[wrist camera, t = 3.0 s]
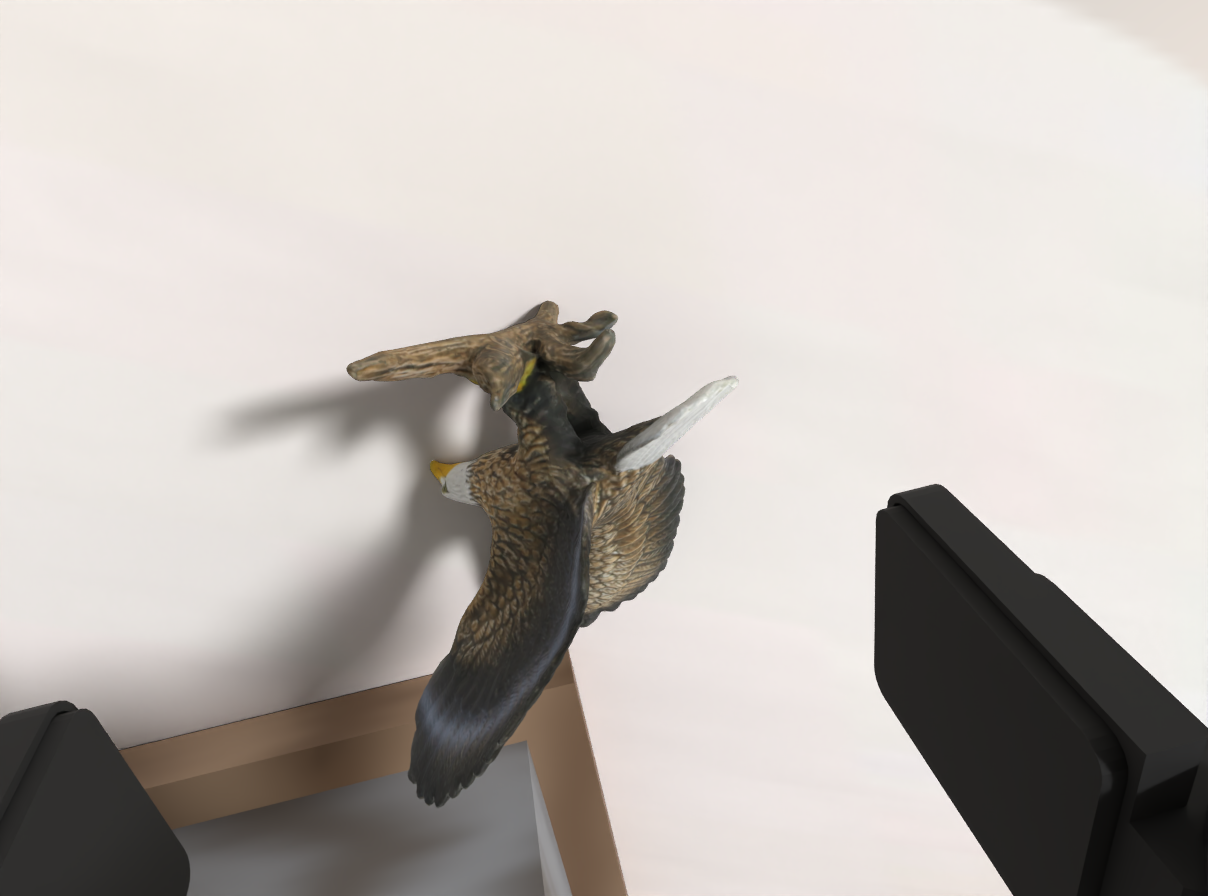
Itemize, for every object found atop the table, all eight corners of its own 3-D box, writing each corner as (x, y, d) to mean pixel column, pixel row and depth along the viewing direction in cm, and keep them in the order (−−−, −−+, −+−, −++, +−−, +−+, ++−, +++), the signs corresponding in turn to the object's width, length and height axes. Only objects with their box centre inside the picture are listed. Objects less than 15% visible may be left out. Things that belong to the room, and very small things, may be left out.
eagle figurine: (248, 337, 16) (332, 745, 18) (458, 383, 10) (531, 942, 13) (564, 282, 20) (593, 611, 23) (814, 295, 15) (814, 718, 18)
